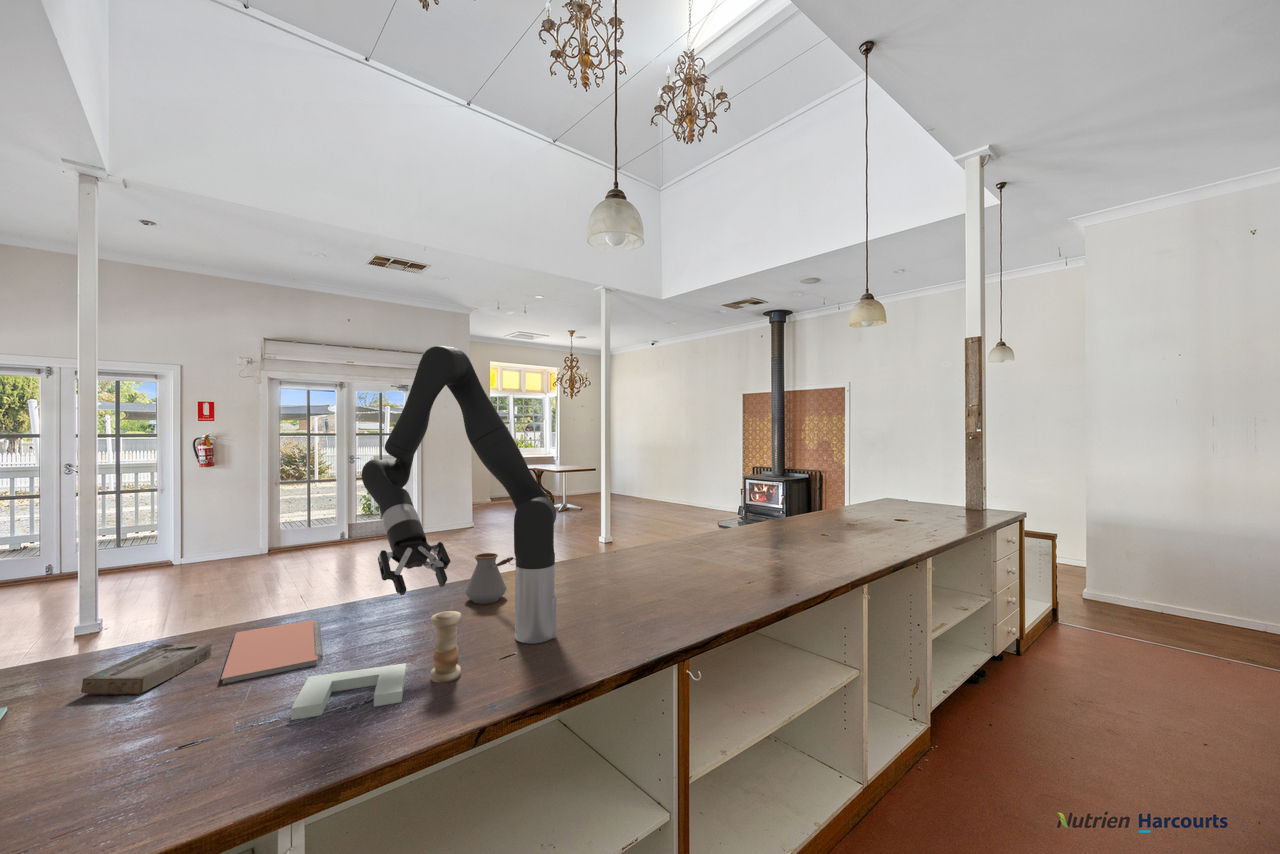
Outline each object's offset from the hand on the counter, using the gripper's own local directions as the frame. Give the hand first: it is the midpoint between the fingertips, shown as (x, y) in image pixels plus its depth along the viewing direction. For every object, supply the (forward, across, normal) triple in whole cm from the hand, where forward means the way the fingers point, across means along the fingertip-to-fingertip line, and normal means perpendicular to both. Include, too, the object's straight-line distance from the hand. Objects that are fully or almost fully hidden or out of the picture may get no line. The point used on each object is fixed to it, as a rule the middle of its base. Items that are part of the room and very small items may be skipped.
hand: (424, 588), depth 111 cm
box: (-11, -41, +33) cm, 54 cm away
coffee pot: (-5, +30, +26) cm, 40 cm away
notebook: (-8, -21, +31) cm, 38 cm away
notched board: (+15, -15, +7) cm, 22 cm away
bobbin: (+18, 0, +3) cm, 18 cm away
